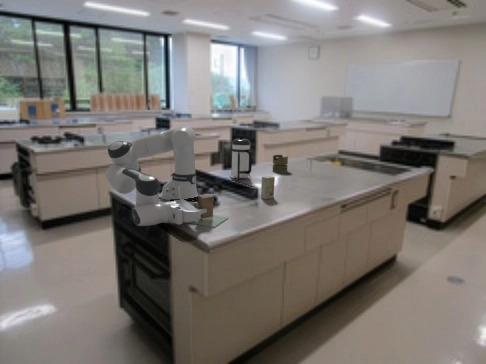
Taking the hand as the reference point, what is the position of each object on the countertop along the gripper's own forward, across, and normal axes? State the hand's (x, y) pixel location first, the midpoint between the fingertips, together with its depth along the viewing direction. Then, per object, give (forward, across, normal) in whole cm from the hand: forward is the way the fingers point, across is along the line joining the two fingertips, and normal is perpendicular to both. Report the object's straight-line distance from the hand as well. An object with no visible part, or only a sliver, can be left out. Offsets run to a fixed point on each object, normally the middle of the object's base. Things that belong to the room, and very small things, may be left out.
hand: (201, 207), depth 153 cm
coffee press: (+58, -64, -7) cm, 86 cm away
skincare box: (+48, -17, -7) cm, 51 cm away
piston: (+97, -72, -7) cm, 121 cm away
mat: (+2, 0, -7) cm, 7 cm away
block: (+2, 0, +5) cm, 5 cm away
